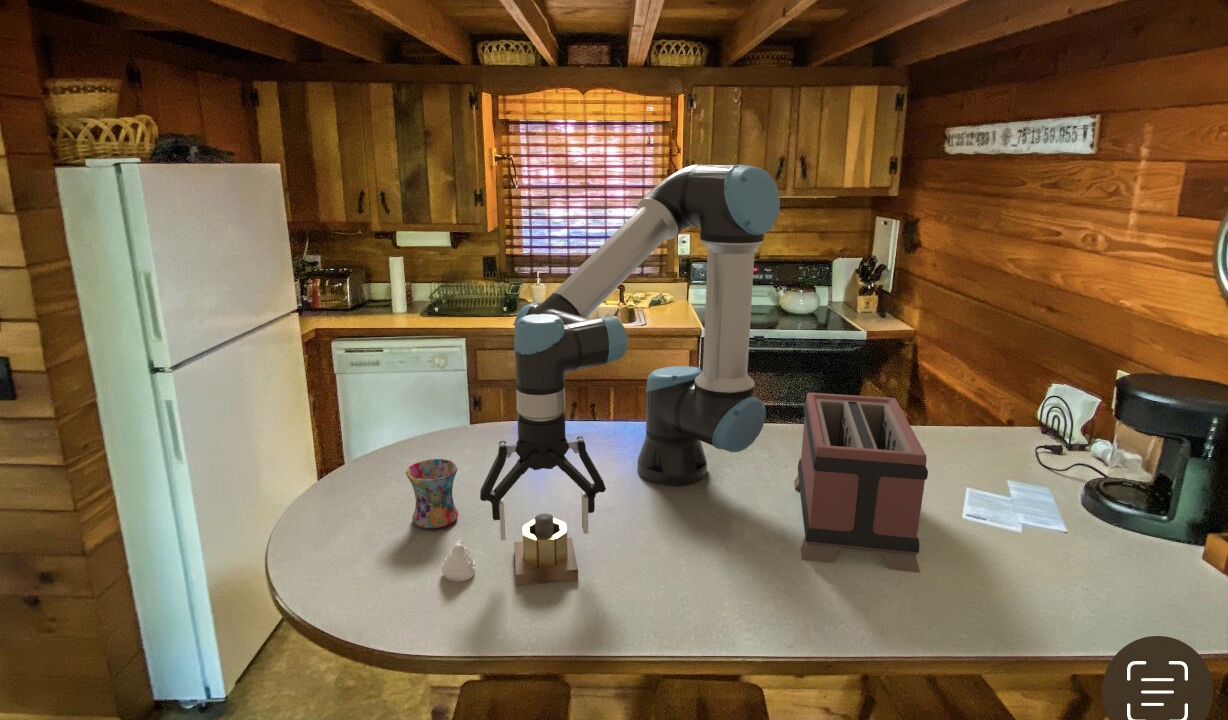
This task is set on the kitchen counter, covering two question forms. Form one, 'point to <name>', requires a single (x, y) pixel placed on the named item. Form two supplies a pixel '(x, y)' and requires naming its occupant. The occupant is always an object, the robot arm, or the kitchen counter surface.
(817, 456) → the toaster
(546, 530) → the shaft block
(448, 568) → the garlic bulb
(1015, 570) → the kitchen counter surface
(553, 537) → the ring
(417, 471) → the mug
